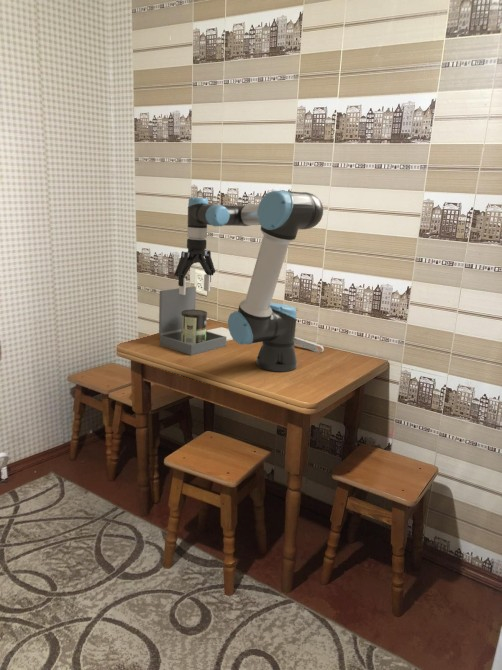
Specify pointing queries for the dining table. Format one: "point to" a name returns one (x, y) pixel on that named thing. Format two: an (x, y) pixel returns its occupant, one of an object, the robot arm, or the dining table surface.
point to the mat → (222, 332)
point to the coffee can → (193, 326)
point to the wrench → (307, 345)
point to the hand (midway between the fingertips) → (194, 292)
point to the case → (172, 323)
